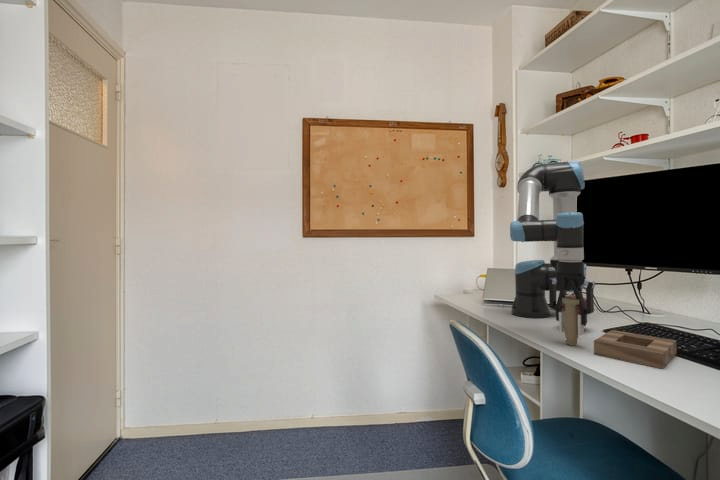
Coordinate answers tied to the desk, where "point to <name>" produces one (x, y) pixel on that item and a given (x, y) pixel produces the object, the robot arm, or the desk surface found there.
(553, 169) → the robot arm
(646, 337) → the socket block
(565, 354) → the desk surface
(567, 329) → the handle
